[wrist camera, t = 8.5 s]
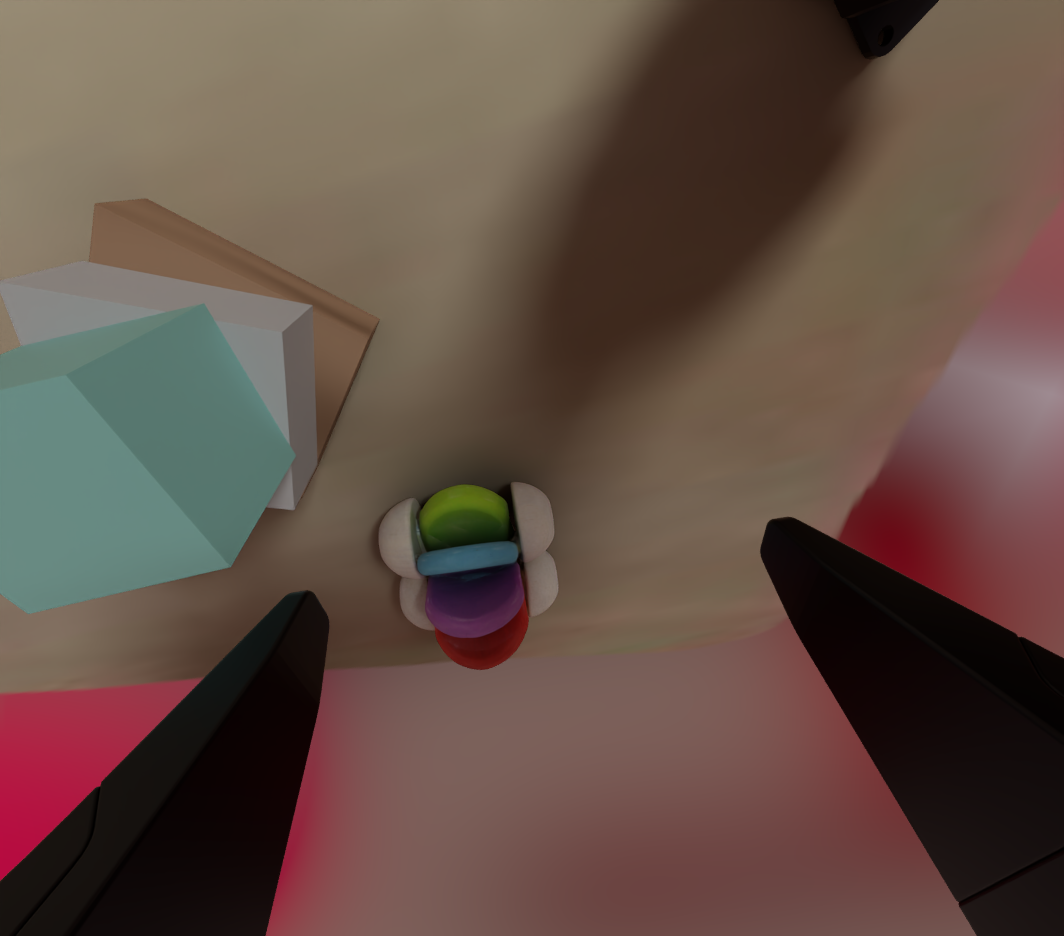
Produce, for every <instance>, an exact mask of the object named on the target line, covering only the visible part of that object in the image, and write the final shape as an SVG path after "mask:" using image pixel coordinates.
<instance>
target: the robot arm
mask: <svg viewBox="0 0 1064 936" xmlns="http://www.w3.org/2000/svg"><path fill="white" fill-rule="evenodd" d="M938 1H939V0H834V2H835V4H836V7H837V9H838V11H839V13H840V16H841V17H842V18H847V21H848V23H849V25H850V28H851V30H852V32H853V34H854V37H855V39H856V41H857V43H858V46H859V48H860V50H861V52H862V54H863V56H864V57H865V58H867V59H874V58H877V57H881V56H884V55H886V54H887V53H889V52H890V51H891V50H892V49H893V48H894V47H895V46H896V45H897V44H898V43H899V42H900V41H901V40H902V39H903V38H904V37H905V36H906V35H907V33H908V32H909V31H910V30H911V29H912V28H913V27H914V26H915V25H916V24H917V23H918V22H919V21H920V20H921V19H922V18H923V17H924V16H925V15H926V14H927V12H928V11H929V10H930V9H931V8H932V7H933V6H934V5H935V4H936V3H937V2H938ZM881 30H883V31H884V38H883V41H882V43H881V44H880V45H879V44H878V36H879V33H880V31H881ZM760 553H761V558H762V561H763V563H764V565H765V567H766V570H767V572H768V574H769V576H770V578H771V580H772V583H773V585H774V587H775V589H776V591H777V593H778V596H779V598H780V600H781V602H782V604H783V606H784V609H785V611H786V613H787V615H788V617H789V619H790V621H791V623H792V625H793V627H794V629H795V631H796V633H797V634H798V636H799V638H800V640H801V642H802V643H803V645H804V647H805V648H806V650H807V652H808V653H809V655H810V657H811V658H812V660H813V662H814V663H815V665H816V667H817V668H818V670H819V672H820V673H821V675H822V677H823V678H824V680H825V682H826V683H827V685H828V687H829V688H830V690H831V692H832V693H833V695H834V697H835V699H836V700H837V702H838V703H839V705H840V707H841V709H842V710H843V712H844V714H845V715H846V717H847V719H848V720H849V722H850V724H851V725H852V727H853V729H854V730H855V732H856V734H857V735H858V737H859V739H860V740H861V742H862V744H863V745H864V747H865V749H866V750H867V752H868V754H869V755H870V757H871V759H872V760H873V762H874V764H875V766H876V767H877V769H878V771H879V772H880V774H881V776H882V777H883V779H884V781H885V782H886V784H887V785H888V787H889V789H890V790H891V792H892V794H893V796H894V797H895V799H896V800H897V802H898V804H899V806H900V807H901V809H902V811H903V812H904V814H905V816H906V817H907V819H908V821H909V822H910V824H911V826H912V827H913V829H914V831H915V832H916V834H917V836H918V837H919V839H920V841H921V842H922V844H923V846H924V848H925V849H926V851H927V853H928V854H929V856H930V858H931V859H932V861H933V863H934V864H935V866H936V868H937V869H938V871H939V872H940V874H941V876H942V878H943V879H944V881H945V882H946V884H947V886H948V888H949V889H950V891H951V893H952V894H953V896H954V898H955V899H956V901H958V902H959V907H960V908H961V910H962V912H963V914H964V915H965V917H966V919H967V920H968V922H969V923H970V925H971V927H972V929H973V930H974V932H975V934H976V935H977V936H1064V658H1063V657H1060V656H1059V655H1056V654H1055V653H1053V652H1050V651H1049V650H1047V649H1044V648H1043V647H1041V646H1039V645H1037V644H1035V643H1033V642H1032V641H1029V640H1028V639H1026V638H1024V637H1018V636H1017V634H1016V633H1014V632H1012V631H1010V630H1008V629H1006V628H1004V627H1002V626H1001V625H999V624H997V623H995V622H993V621H991V620H989V619H987V618H985V617H983V616H981V615H980V614H978V613H975V612H974V611H972V610H970V609H968V608H966V607H964V606H962V605H960V604H958V603H957V602H955V601H953V600H951V599H949V598H947V597H945V596H943V595H941V594H939V593H937V592H935V591H933V590H932V589H929V588H928V587H926V586H924V585H922V584H920V583H918V582H916V581H914V580H912V579H910V578H909V577H906V576H905V575H903V574H901V573H899V572H897V571H895V570H893V569H891V568H889V567H887V566H886V565H884V564H882V563H880V562H878V561H876V560H874V559H872V558H870V557H868V556H866V555H864V554H862V553H861V552H859V551H857V550H855V549H853V548H851V547H849V546H847V545H845V544H843V543H841V542H840V541H838V540H836V539H834V538H832V537H830V536H828V535H826V534H824V533H822V532H820V531H818V530H817V529H815V528H813V527H811V526H809V525H807V524H805V523H803V522H801V521H799V520H797V519H795V518H793V517H783V518H777V519H772V520H770V521H769V522H768V523H767V526H766V530H765V533H764V537H763V540H762V544H761V548H760ZM328 634H329V619H328V616H327V614H326V612H325V610H324V609H323V607H322V605H321V604H320V602H319V600H318V599H317V597H316V596H315V594H314V593H313V592H312V591H308V590H307V591H300V592H293V593H290V594H288V595H286V596H285V597H284V598H283V599H282V600H281V601H280V602H279V603H278V604H277V605H276V606H275V607H274V608H273V609H272V610H271V611H270V612H269V613H268V614H267V615H266V616H265V617H264V618H263V619H262V620H261V621H260V622H259V623H258V624H257V625H256V626H255V627H254V628H253V629H252V630H251V631H250V632H249V633H248V634H247V635H246V636H245V637H244V638H243V639H242V640H241V641H240V642H239V643H238V644H237V645H236V646H235V647H234V648H233V649H232V650H231V651H230V652H229V653H228V654H227V655H226V656H225V657H224V658H223V659H222V660H221V662H220V663H219V664H218V665H217V666H216V667H215V668H214V669H213V670H212V671H211V672H210V673H209V674H208V675H207V676H206V677H205V678H204V679H203V680H202V681H201V682H200V683H199V684H198V685H197V686H196V687H195V688H194V689H193V690H192V691H191V692H190V693H189V694H188V695H187V696H186V697H185V698H184V699H183V700H182V701H181V702H180V703H179V704H178V705H177V706H176V707H175V708H174V709H173V710H172V711H171V712H170V713H169V714H168V715H167V716H166V717H165V718H164V719H163V720H162V721H161V722H160V723H159V724H158V725H157V726H156V727H155V728H154V729H153V730H152V731H151V732H150V733H149V734H148V735H147V736H146V737H145V738H144V739H143V740H142V741H141V742H140V743H139V744H138V745H137V746H136V747H135V748H134V750H132V751H131V752H130V753H129V754H128V756H127V757H125V759H124V760H123V761H122V762H121V763H120V764H119V765H118V766H117V767H116V768H115V769H114V770H113V771H112V772H111V773H110V774H109V775H108V776H107V777H106V778H105V779H104V780H103V781H102V782H101V786H100V787H96V788H95V789H94V790H93V791H92V792H91V793H90V794H89V795H88V796H87V797H86V798H85V799H84V800H83V801H82V802H81V803H80V804H79V805H78V806H77V807H76V808H75V809H74V810H73V811H72V812H71V813H70V814H69V815H68V816H67V817H66V818H65V819H64V820H63V821H62V822H61V823H60V824H59V825H58V826H57V827H56V828H55V829H54V830H53V831H52V832H51V833H50V834H49V835H48V836H46V838H45V839H44V840H42V841H41V842H40V843H39V844H38V846H36V847H35V848H34V849H33V850H32V851H31V852H30V853H29V854H28V855H27V856H26V857H25V858H24V859H23V860H22V861H21V862H20V863H19V864H18V865H17V866H16V867H14V869H12V870H11V871H10V872H9V873H8V874H7V875H6V876H5V877H4V878H3V879H2V880H1V881H0V936H265V935H266V931H267V927H268V923H269V919H270V914H271V910H272V906H273V901H274V897H275V893H276V889H277V885H278V880H279V876H280V872H281V867H282V863H283V859H284V855H285V850H286V846H287V842H288V838H289V833H290V829H291V825H292V821H293V816H294V812H295V807H296V803H297V799H298V795H299V791H300V787H301V782H302V778H303V774H304V770H305V765H306V761H307V757H308V752H309V748H310V744H311V740H312V736H313V731H314V727H315V723H316V718H317V713H318V709H319V704H320V697H321V690H322V682H323V674H324V666H325V658H326V650H327V642H328Z"/></svg>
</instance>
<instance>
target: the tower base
mask: <svg viewBox="0 0 1064 936" xmlns="http://www.w3.org/2000/svg"><path fill="white" fill-rule="evenodd" d="M89 262H91V263H96V264H102V265H107V266H112V267H117V268H122V269H128V270H133V271H138V272H143V273H148V274H153V275H159V276H164V277H169V278H174V279H179V280H185V281H190V282H195V283H200V284H205V285H210V286H216V287H221V288H226V289H231V290H236V291H241V292H247V293H252V294H257V295H262V296H267V297H273V298H278V299H283V300H288V301H293V302H298V303H304V304H309V305H313V333H314V366H315V399H316V432H317V466H316V468H315V470H314V472H313V474H312V476H311V478H310V480H309V482H308V484H307V486H306V488H305V490H304V492H303V494H302V496H301V498H302V497H303V495H304V493H305V491H306V489H307V487H308V485H309V483H310V481H311V479H312V477H313V475H314V473H315V471H316V469H317V467H318V464H319V462H320V460H321V457H322V455H323V453H324V450H325V448H326V445H327V443H328V441H329V438H330V436H331V434H332V431H333V429H334V427H335V424H336V422H337V419H338V417H339V415H340V412H341V410H342V408H343V405H344V403H345V400H346V398H347V396H348V393H349V391H350V389H351V386H352V384H353V381H354V379H355V377H356V374H357V372H358V370H359V367H360V365H361V363H362V360H363V358H364V355H365V353H366V351H367V348H368V346H369V344H370V341H371V339H372V336H373V334H374V332H375V329H376V327H377V325H378V322H379V320H380V319H379V318H377V317H375V316H373V315H371V314H369V313H367V312H365V311H363V310H361V309H359V308H358V307H356V306H354V305H352V304H350V303H348V302H346V301H344V300H342V299H340V298H338V297H336V296H334V295H332V294H330V293H328V292H327V291H325V290H323V289H321V288H319V287H317V286H315V285H313V284H311V283H309V282H307V281H305V280H303V279H301V278H299V277H297V276H296V275H294V274H292V273H290V272H288V271H286V270H284V269H282V268H280V267H278V266H276V265H274V264H272V263H270V262H268V261H266V260H265V259H263V258H261V257H259V256H257V255H255V254H253V253H251V252H249V251H247V250H245V249H243V248H241V247H239V246H237V245H235V244H234V243H232V242H230V241H228V240H226V239H224V238H222V237H220V236H218V235H216V234H214V233H212V232H210V231H208V230H206V229H204V228H203V227H201V226H199V225H197V224H195V223H193V222H191V221H189V220H187V219H185V218H183V217H181V216H179V215H177V214H175V213H173V212H172V211H170V210H168V209H166V208H164V207H162V206H160V205H158V204H156V203H154V202H152V201H150V200H148V199H137V200H127V201H116V202H106V203H95V206H94V216H93V226H92V236H91V246H90V256H89Z"/></svg>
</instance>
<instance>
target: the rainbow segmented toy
mask: <svg viewBox="0 0 1064 936" xmlns="http://www.w3.org/2000/svg"><path fill="white" fill-rule="evenodd" d="M511 494H512V502H513V513H514V519H515V527H516V531H514V528H513V526H512V523H511V520H510V518H509V511H508V505H507V502H506V501H505V500H504V499H503V498H502V497H500V496H499V495H498V494H496V493H494V492H492V491H490V490H488V489H485V488H483V487H479V486H475V485H467V484H462V485H456V486H452V487H448V488H445V489H443V490H441V491H439V492H437V493H436V494H435V495H433V496H432V497H431V498H430V499H429V500H428V501H427V503H426V504H425V505H424V507H423V509H422V510H421V507H420V505H419V503H418V501H417V500H416V499H415V498H408V499H406V500H403V501H401V502H399V503H398V504H396V505H395V506H394V507H392V508H391V509H390V510H389V511H388V513H387V514H386V515H385V517H384V518H383V520H382V522H381V525H380V527H379V548H380V553H381V556H382V559H383V561H384V562H385V564H386V565H387V566H388V567H389V568H390V569H391V570H392V571H394V572H395V573H396V574H398V575H400V576H402V578H401V582H400V604H401V608H402V611H403V613H404V615H405V616H406V618H407V619H408V620H409V621H410V622H411V623H413V624H414V625H416V626H417V627H420V628H422V629H426V630H435V634H436V638H437V641H438V643H439V645H440V646H441V648H442V650H443V651H444V652H445V653H446V655H447V656H448V657H450V658H451V659H452V660H453V661H454V662H456V663H457V664H459V665H462V666H464V667H467V668H471V669H477V670H484V669H489V668H492V667H495V666H497V665H499V664H501V663H502V662H504V661H505V660H507V659H508V658H509V657H510V656H511V655H512V654H513V653H514V652H515V651H516V650H517V649H518V647H519V646H520V644H521V642H522V641H523V638H524V636H525V634H526V631H527V628H528V622H529V618H528V616H529V617H534V616H537V615H539V614H541V613H542V612H544V611H545V610H547V609H548V608H549V607H550V606H551V605H552V603H553V602H554V600H555V598H556V596H557V594H558V577H557V571H556V566H555V562H554V560H553V558H552V556H551V555H550V554H549V553H548V552H547V551H546V549H547V548H548V547H549V546H550V544H551V542H552V540H553V538H554V532H555V530H554V520H553V514H552V509H551V505H550V501H549V499H548V498H547V496H546V495H545V494H544V493H543V492H542V491H540V490H539V489H538V488H536V487H534V486H532V485H529V484H526V483H521V482H512V483H511ZM517 558H520V563H521V564H520V565H519V564H518V563H517Z"/></svg>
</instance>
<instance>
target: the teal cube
mask: <svg viewBox="0 0 1064 936" xmlns="http://www.w3.org/2000/svg"><path fill="white" fill-rule="evenodd" d="M295 457H296V454H295V453H294V451H293V449H292V448H291V446H290V445H289V443H288V442H287V440H286V438H285V437H284V435H283V433H282V432H281V430H280V428H279V427H278V425H277V423H276V422H275V420H274V418H273V417H272V415H271V413H270V412H269V410H268V408H267V407H266V405H265V403H264V402H263V400H262V398H261V397H260V395H259V393H258V392H257V390H256V389H255V387H254V385H253V384H252V382H251V380H250V379H249V377H248V375H247V374H246V372H245V370H244V369H243V367H242V365H241V364H240V362H239V360H238V359H237V357H236V355H235V354H234V352H233V350H232V349H231V347H230V345H229V344H228V342H227V340H226V339H225V337H224V335H223V334H222V332H221V331H220V329H219V327H218V326H217V324H216V322H215V321H214V319H213V317H212V315H211V314H210V312H209V310H208V309H207V307H206V305H205V304H204V303H203V304H198V305H194V306H190V307H185V308H181V309H177V310H173V311H168V312H164V313H160V314H156V315H151V316H147V317H143V318H139V319H134V320H130V321H126V322H121V323H117V324H113V325H109V326H104V327H100V328H96V329H92V330H87V331H83V332H79V333H75V334H70V335H66V336H62V337H57V338H53V339H49V340H45V341H40V342H36V343H32V344H28V345H23V346H21V347H18V348H16V349H13V350H11V351H8V352H6V353H3V354H1V355H0V594H1V595H3V596H4V597H5V598H7V599H8V600H10V601H11V602H12V603H14V604H15V605H16V606H18V607H19V608H21V609H22V610H23V611H25V612H26V613H27V614H30V613H35V612H39V611H43V610H48V609H52V608H56V607H61V606H65V605H69V604H74V603H78V602H82V601H87V600H91V599H95V598H100V597H104V596H108V595H112V594H117V593H121V592H125V591H130V590H134V589H138V588H143V587H147V586H151V585H156V584H160V583H164V582H169V581H173V580H177V579H182V578H186V577H190V576H195V575H199V574H203V573H208V572H212V571H216V570H221V569H225V568H229V567H231V566H232V564H233V562H234V561H235V559H236V557H237V556H238V554H239V552H240V550H241V549H242V547H243V545H244V544H245V542H246V540H247V539H248V537H249V535H250V533H251V532H252V530H253V528H254V527H255V525H256V523H257V521H258V520H259V518H260V516H261V515H262V513H263V511H264V510H265V508H266V506H267V504H268V503H269V501H270V499H271V498H272V496H273V494H274V492H275V491H276V489H277V487H278V486H279V484H280V482H281V481H282V479H283V477H284V475H285V474H286V472H287V470H288V469H289V467H290V465H291V463H292V462H293V460H294V458H295Z"/></svg>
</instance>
